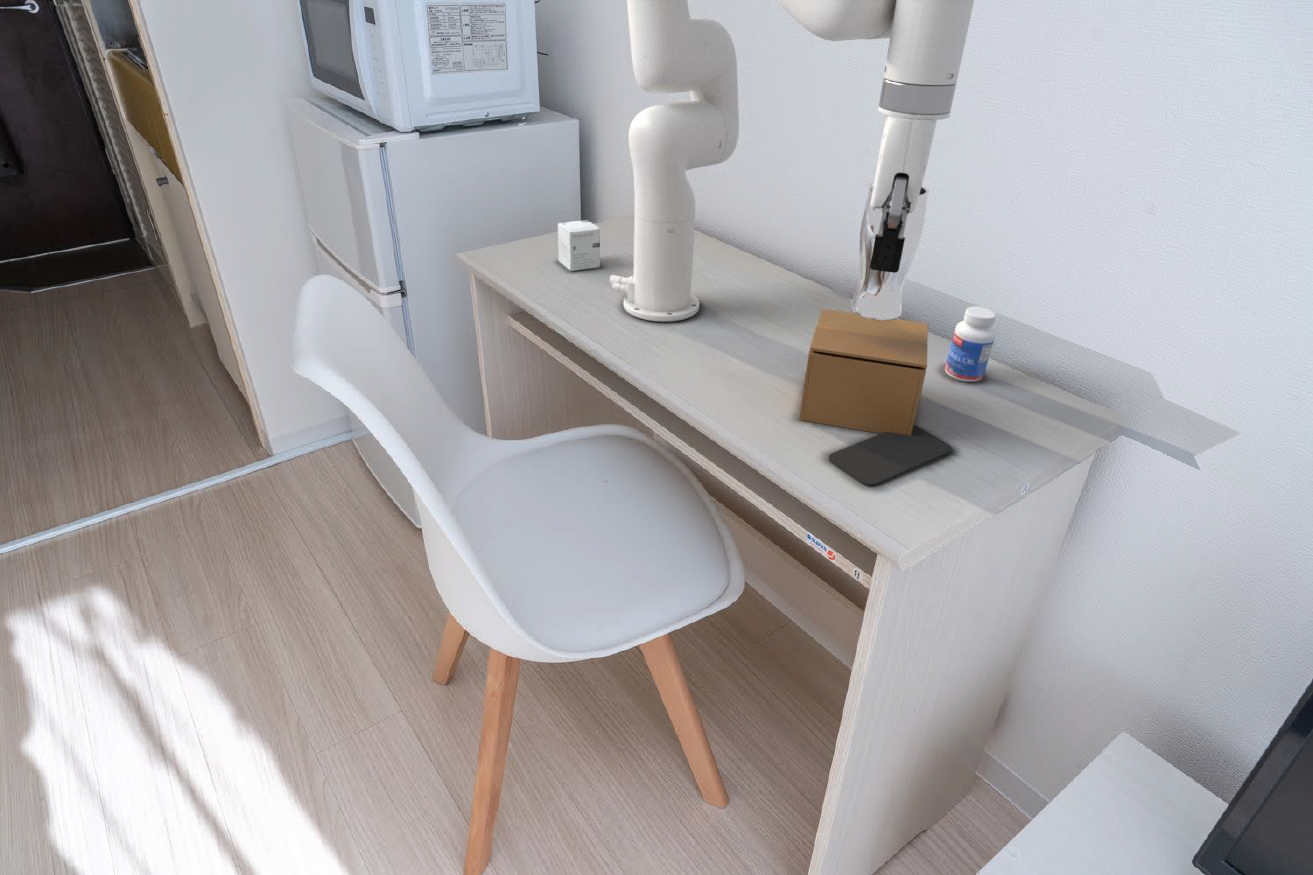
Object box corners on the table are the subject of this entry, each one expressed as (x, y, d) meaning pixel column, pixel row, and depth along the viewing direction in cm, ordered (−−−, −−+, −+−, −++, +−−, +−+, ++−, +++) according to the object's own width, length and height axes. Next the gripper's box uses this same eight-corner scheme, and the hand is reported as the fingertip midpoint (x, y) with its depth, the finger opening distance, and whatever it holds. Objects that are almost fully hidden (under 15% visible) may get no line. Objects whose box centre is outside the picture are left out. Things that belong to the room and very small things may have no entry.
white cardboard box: (570, 272, 146) (569, 232, 142) (558, 261, 150) (556, 222, 146) (600, 267, 148) (600, 228, 144) (587, 257, 153) (587, 218, 149)
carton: (811, 375, 114) (821, 308, 109) (912, 391, 111) (928, 323, 106) (798, 419, 104) (809, 347, 98) (910, 438, 100) (927, 365, 95)
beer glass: (906, 325, 95) (933, 199, 87) (846, 319, 96) (868, 193, 88) (903, 303, 101) (928, 183, 93) (847, 298, 102) (867, 178, 94)
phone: (824, 455, 96) (910, 421, 103) (823, 461, 96) (908, 427, 104) (869, 486, 91) (956, 448, 98) (868, 492, 91) (955, 454, 98)
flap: (821, 311, 109) (822, 308, 109) (927, 326, 106) (927, 323, 106) (815, 330, 104) (816, 327, 104) (926, 346, 101) (927, 343, 100)
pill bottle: (936, 372, 116) (952, 309, 111) (957, 362, 119) (973, 301, 114) (970, 386, 113) (987, 323, 108) (990, 376, 116) (1008, 313, 111)
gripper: (884, 85, 94) (859, 234, 103) (875, 110, 79) (847, 280, 89) (951, 90, 92) (919, 241, 101) (954, 116, 78) (916, 289, 87)
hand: (885, 258), depth 95 cm, fingers closed on beer glass, 7 cm apart
